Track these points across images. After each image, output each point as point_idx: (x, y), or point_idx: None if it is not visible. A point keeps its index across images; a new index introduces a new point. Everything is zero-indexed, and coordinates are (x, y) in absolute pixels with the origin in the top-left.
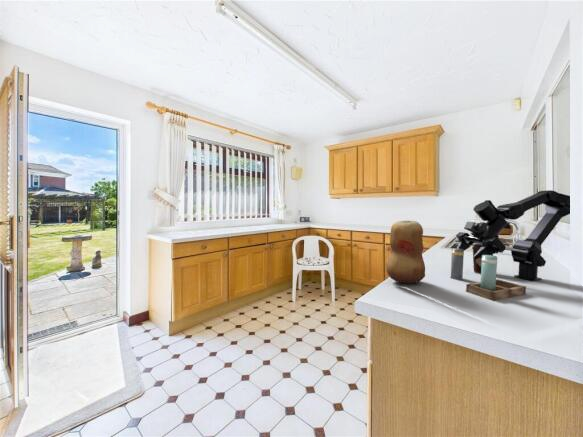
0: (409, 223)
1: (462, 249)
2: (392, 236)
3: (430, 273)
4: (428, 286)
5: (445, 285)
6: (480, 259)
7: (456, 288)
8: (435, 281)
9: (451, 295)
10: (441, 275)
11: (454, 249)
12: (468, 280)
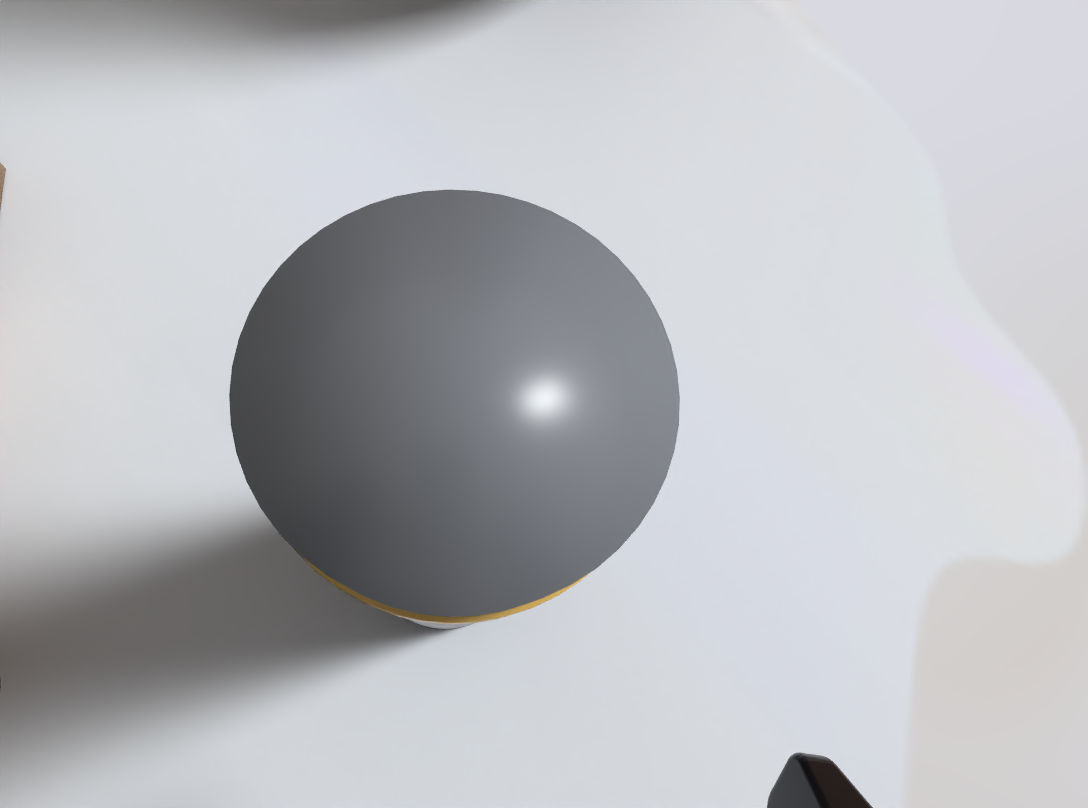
0: None
1: (348, 528)
2: None
3: (841, 476)
4: (374, 31)
5: None
6: None
7: (195, 254)
8: None
9: (52, 14)
10: (724, 555)
11: (464, 215)
12: (400, 766)
